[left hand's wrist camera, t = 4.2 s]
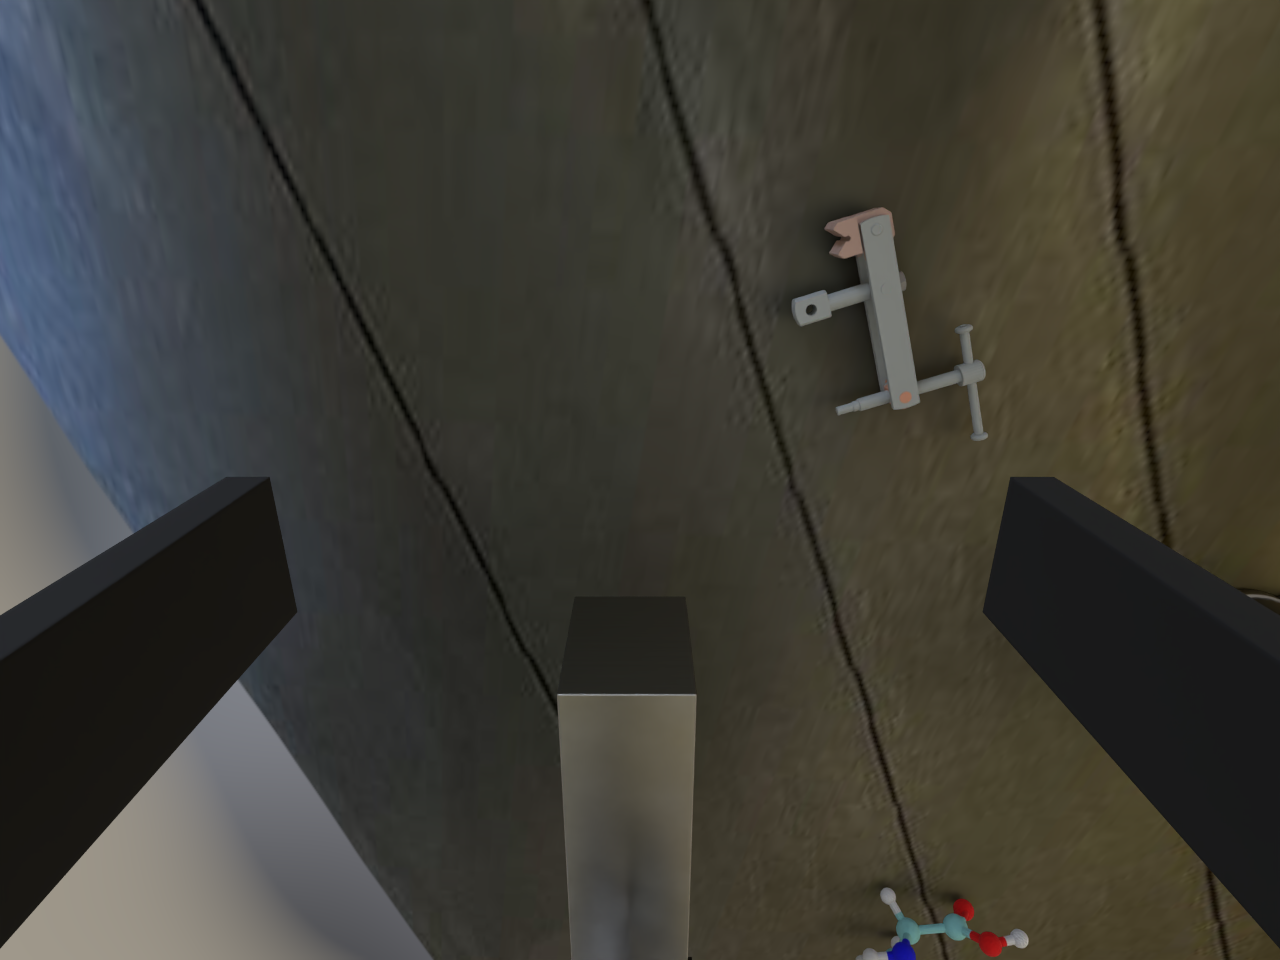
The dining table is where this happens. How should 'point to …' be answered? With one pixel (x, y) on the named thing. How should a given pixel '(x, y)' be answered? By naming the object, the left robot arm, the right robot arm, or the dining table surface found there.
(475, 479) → the dining table surface
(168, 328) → the dining table surface
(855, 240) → the clamp
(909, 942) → the molecular model
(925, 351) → the dining table surface
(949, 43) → the dining table surface
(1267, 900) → the left robot arm
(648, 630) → the bar
